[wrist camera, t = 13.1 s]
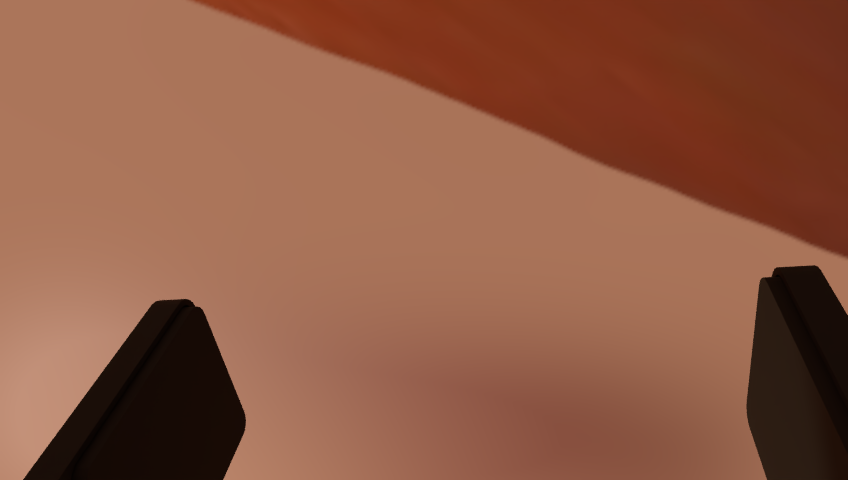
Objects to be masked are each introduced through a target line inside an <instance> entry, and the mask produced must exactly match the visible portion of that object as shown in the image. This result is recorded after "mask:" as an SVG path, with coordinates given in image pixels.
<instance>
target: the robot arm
mask: <svg viewBox="0 0 848 480" xmlns="http://www.w3.org/2000/svg"><path fill="white" fill-rule="evenodd" d="M747 418H748V423H749V427H750V430H751V433H752V436H753V439H754V442H755V444H756V447H757V450H758V454H759V457H760V459H761V462H762V465H763V469H764V471H765V475H766V477H767V480H848V315H847V314H846V312H845V310H844V309H843V307H842V305H841V303H840V302H839V300H838V298H837V297H836V295H835V293H834V292H833V290H832V288H831V287H830V286H829V283H828V282H827V280H826V278H825V276H824V275H823V273H822V272H821V270H820V269H819V267H817V266H815V265H814V266H795V267H777V268H775V269H774V271H773V274H772V277H767V278H766V277H765V278H762V279H761V280H760V284H759V292H758V301H757V311H756V320H755V330H754V339H753V349H752V358H751V367H750V376H749V387H748V396H747ZM245 425H246V419H245V413H244V410H243V408H242V405H241V403H240V400H239V398H238V395H237V393H236V390H235V388H234V385H233V383H232V380H231V378H230V376H229V374H228V371H227V368H226V366H225V363H224V361H223V358H222V356H221V353H220V351H219V348H218V346H217V343H216V341H215V338H214V336H213V333H212V331H211V328H210V326H209V324H208V321H207V319H206V316H205V314H204V312H203V310H202V309H201V308H200V307H195V305H194V304H193V302H191V301H190V300H188V299H180V300H162V301H156V302H155V303H154V304H152V305H151V307H150V308H149V309H148V311H147V312H146V313H145V315H144V316H143V318H142V319H141V320H140V322H139V323H138V324H137V326H136V327H135V329H134V330H133V331H132V332H131V334H130V335H129V337H128V338H127V339H126V341H125V342H124V343H123V345H122V346H121V347H120V349H119V350H118V352H117V353H116V354H115V356H114V357H113V358H112V360H111V361H110V362H109V364H108V365H107V367H106V368H105V369H104V371H103V372H102V373H101V375H100V376H99V377H98V379H97V380H96V381H95V383H94V384H93V386H92V387H91V388H90V390H89V391H88V392H87V394H86V395H85V396H84V398H83V399H82V401H81V402H80V403H79V404H78V406H77V407H76V409H75V410H74V411H73V413H72V414H71V415H70V417H69V418H68V419H67V421H66V422H65V423H64V425H63V426H62V428H61V429H60V430H59V432H58V433H57V434H56V436H55V437H54V439H53V440H52V441H51V442H50V444H49V445H48V447H47V448H46V449H45V451H44V452H43V453H42V455H41V456H40V458H39V459H38V460H37V462H36V463H35V464H34V466H33V467H32V468H31V470H30V471H29V472H28V474H27V475H26V476H25V478H24V479H23V480H223V479H224V476H225V474H226V472H227V470H228V467H229V465H230V463H231V460H232V459H233V456H234V454H235V452H236V450H237V447H238V445H239V443H240V441H241V438H242V436H243V434H244V431H245Z"/></svg>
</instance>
